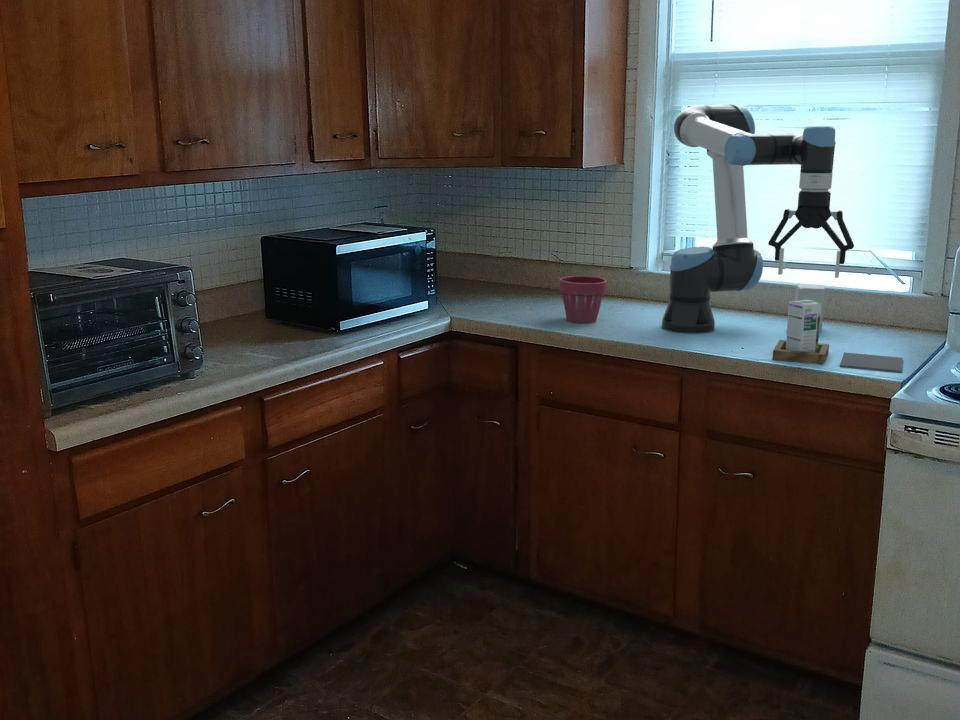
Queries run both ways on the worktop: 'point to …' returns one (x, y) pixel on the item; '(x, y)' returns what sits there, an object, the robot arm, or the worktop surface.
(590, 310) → the plant pot
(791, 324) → the syrup box
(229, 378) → the worktop surface
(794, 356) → the walnut collar
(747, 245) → the robot arm
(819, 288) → the supplement box
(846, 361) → the charcoal mat
